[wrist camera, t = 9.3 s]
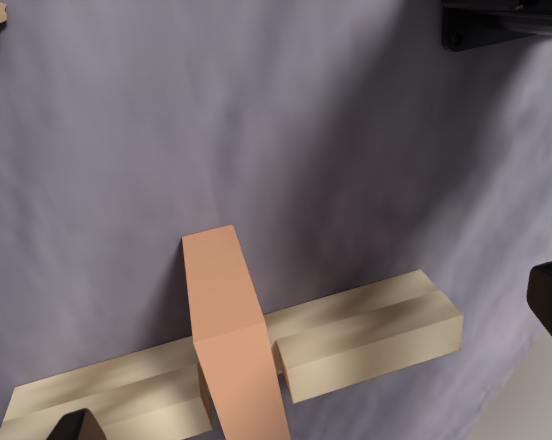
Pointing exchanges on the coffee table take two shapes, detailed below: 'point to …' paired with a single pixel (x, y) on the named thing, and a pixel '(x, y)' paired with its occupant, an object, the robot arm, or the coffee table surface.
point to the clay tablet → (3, 12)
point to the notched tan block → (232, 338)
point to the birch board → (286, 354)
